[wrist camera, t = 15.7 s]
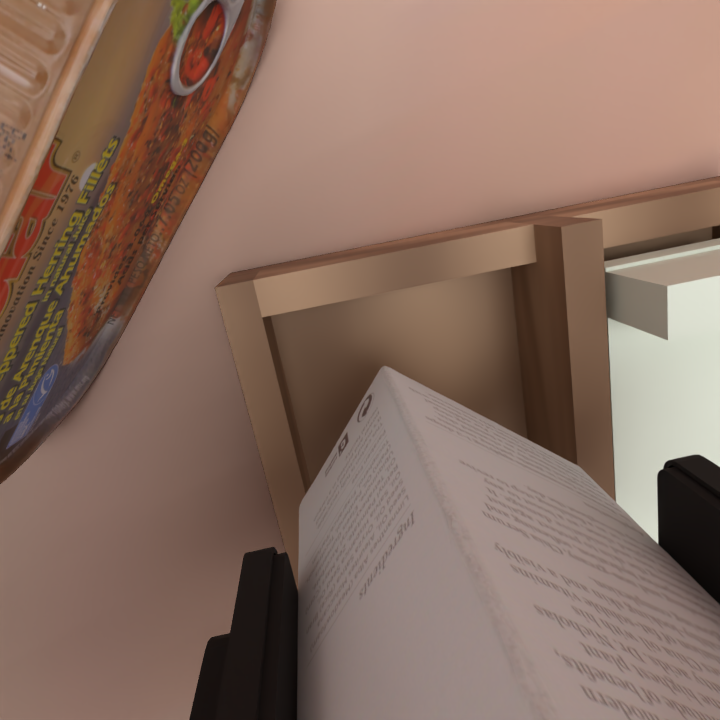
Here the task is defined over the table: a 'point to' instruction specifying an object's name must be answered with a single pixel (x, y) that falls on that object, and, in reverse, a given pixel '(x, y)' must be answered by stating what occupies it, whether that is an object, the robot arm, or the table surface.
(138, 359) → the table surface
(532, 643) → the skincare box
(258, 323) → the wooden compartment tray
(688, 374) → the lid
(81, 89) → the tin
